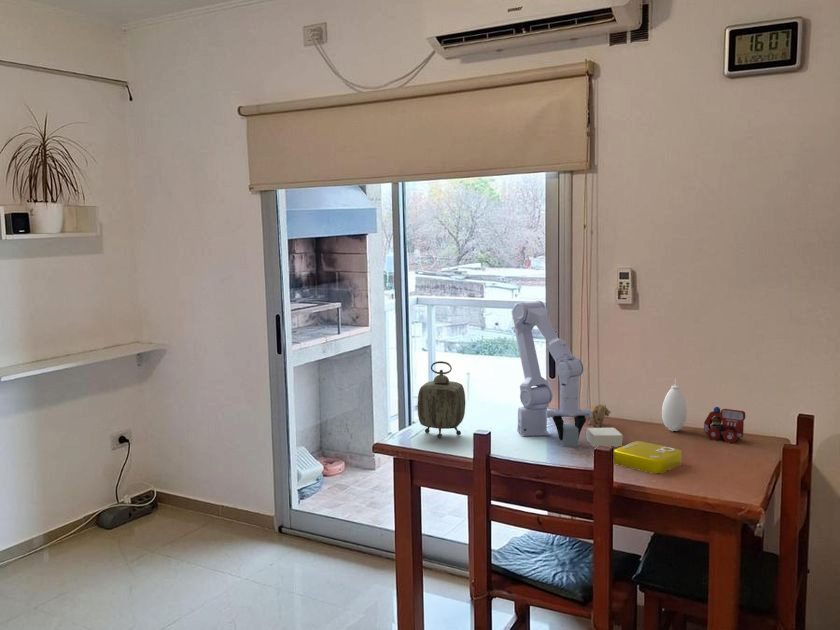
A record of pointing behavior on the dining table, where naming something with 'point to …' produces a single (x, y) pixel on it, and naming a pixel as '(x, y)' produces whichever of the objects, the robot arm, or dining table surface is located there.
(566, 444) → the grey block
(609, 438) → the base block
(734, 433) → the toy fire truck
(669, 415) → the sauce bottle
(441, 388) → the tabletop clock
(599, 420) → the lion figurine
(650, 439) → the dining table surface
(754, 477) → the dining table surface
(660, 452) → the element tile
